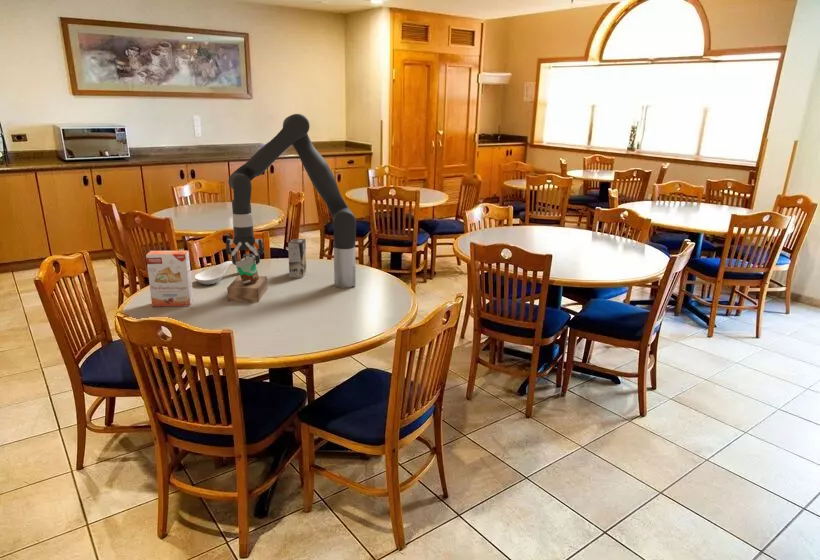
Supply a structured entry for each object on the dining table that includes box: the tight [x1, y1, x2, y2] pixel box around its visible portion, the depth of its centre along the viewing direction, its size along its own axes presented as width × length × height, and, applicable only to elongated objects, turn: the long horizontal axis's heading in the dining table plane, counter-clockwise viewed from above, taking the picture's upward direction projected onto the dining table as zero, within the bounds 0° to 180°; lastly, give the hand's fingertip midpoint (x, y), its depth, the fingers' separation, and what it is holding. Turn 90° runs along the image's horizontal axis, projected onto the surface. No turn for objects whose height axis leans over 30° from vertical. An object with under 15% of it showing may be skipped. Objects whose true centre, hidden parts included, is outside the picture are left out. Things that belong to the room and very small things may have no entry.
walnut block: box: [226, 275, 268, 303], centre depth 219 cm, size 12×16×6 cm
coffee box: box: [287, 238, 308, 279], centre depth 245 cm, size 9×6×16 cm
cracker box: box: [145, 250, 194, 308], centre depth 204 cm, size 14×6×21 cm, turn 99°
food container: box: [235, 253, 259, 285], centre depth 216 cm, size 12×6×10 cm, turn 1°
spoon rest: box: [194, 260, 239, 286], centre depth 237 cm, size 24×12×7 cm, turn 148°
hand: (246, 264), depth 216 cm, fingers open, 8 cm apart
